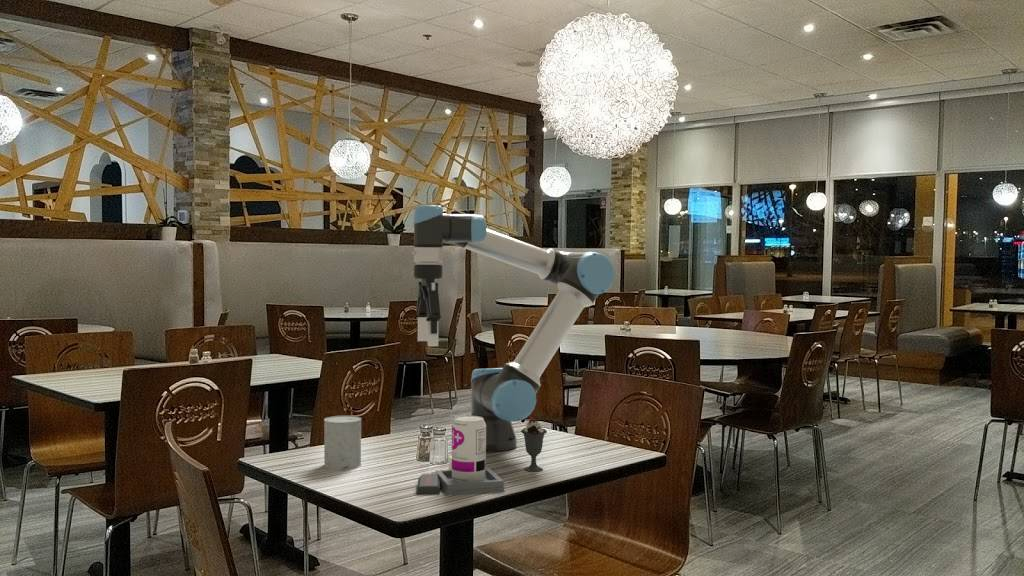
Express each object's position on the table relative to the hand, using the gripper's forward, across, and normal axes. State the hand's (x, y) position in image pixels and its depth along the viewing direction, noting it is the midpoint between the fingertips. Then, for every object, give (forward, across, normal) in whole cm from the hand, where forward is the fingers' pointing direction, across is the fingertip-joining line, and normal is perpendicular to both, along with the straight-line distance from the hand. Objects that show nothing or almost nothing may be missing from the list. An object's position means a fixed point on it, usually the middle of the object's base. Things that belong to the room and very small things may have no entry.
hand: (427, 343), depth 217 cm
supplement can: (+31, +25, +5) cm, 40 cm away
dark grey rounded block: (+32, +25, -4) cm, 41 cm away
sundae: (+32, +15, +25) cm, 43 cm away
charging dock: (+32, +24, +5) cm, 40 cm away
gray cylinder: (+32, -2, -22) cm, 39 cm away
